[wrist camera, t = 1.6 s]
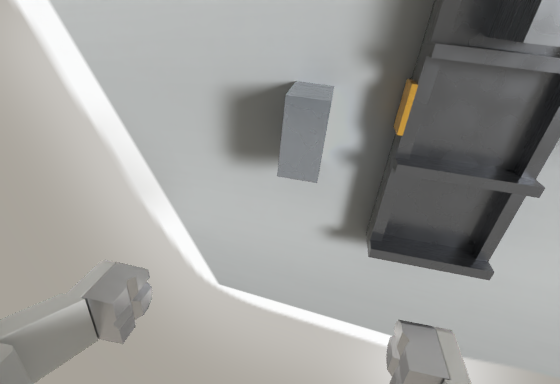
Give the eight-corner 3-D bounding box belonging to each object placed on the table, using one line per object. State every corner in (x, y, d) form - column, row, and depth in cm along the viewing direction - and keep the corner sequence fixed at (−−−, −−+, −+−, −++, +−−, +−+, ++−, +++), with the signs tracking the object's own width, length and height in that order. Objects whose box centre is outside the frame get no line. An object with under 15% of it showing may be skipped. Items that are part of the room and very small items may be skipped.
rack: (463, -120, 18) (510, -175, 13) (668, -108, 17) (812, -162, 11) (362, 232, 30) (365, 276, 25) (474, 253, 29) (502, 303, 24)
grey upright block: (295, 80, 25) (285, 94, 20) (334, 86, 24) (331, 101, 20) (287, 151, 28) (277, 176, 23) (321, 156, 27) (317, 183, 23)
